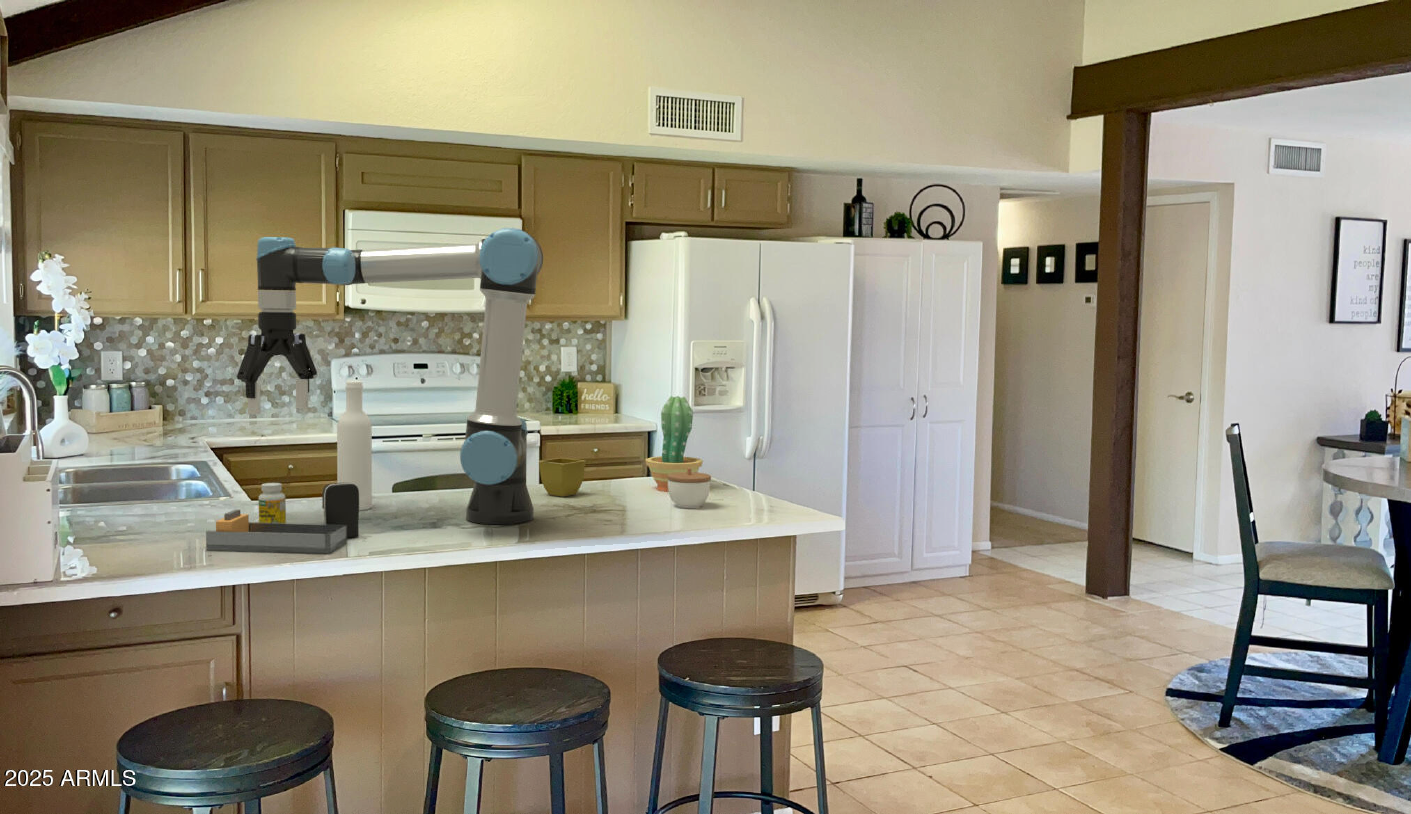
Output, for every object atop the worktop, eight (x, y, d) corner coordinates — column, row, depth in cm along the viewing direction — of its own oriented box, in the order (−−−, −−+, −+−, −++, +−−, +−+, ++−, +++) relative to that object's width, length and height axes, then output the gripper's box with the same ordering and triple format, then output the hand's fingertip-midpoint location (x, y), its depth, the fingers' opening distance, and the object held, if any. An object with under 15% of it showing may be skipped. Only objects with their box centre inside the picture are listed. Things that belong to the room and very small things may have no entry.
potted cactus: (712, 488, 310) (715, 396, 308) (682, 496, 297) (684, 400, 294) (665, 482, 318) (667, 393, 315) (633, 489, 305) (635, 396, 302)
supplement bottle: (290, 527, 245) (290, 482, 245) (277, 531, 240) (277, 486, 239) (267, 525, 246) (266, 481, 245) (253, 530, 241) (253, 485, 240)
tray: (346, 543, 231) (346, 524, 231) (329, 553, 221) (329, 534, 221) (229, 539, 231) (228, 521, 231) (206, 550, 221) (206, 531, 221)
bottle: (360, 503, 275) (360, 379, 272) (378, 508, 269) (378, 381, 267) (330, 507, 269) (329, 380, 266) (348, 512, 263) (348, 382, 261)
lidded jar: (702, 501, 289) (703, 465, 288) (716, 509, 279) (717, 471, 278) (661, 503, 286) (662, 465, 285) (673, 510, 275) (674, 472, 275)
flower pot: (537, 495, 293) (537, 460, 292) (560, 491, 300) (560, 457, 299) (563, 499, 288) (563, 463, 287) (586, 494, 295) (586, 460, 294)
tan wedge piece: (248, 533, 230) (248, 508, 230) (231, 542, 222) (231, 515, 222) (234, 533, 230) (233, 508, 230) (216, 541, 222) (215, 515, 222)
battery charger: (354, 534, 239) (354, 480, 238) (360, 537, 236) (360, 483, 235) (320, 537, 236) (320, 482, 235) (325, 540, 232) (325, 485, 231)
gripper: (306, 310, 254) (307, 406, 256) (216, 310, 231) (219, 415, 233) (332, 311, 251) (333, 407, 253) (244, 311, 228) (246, 417, 230)
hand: (278, 411), depth 243 cm, fingers open, 13 cm apart
